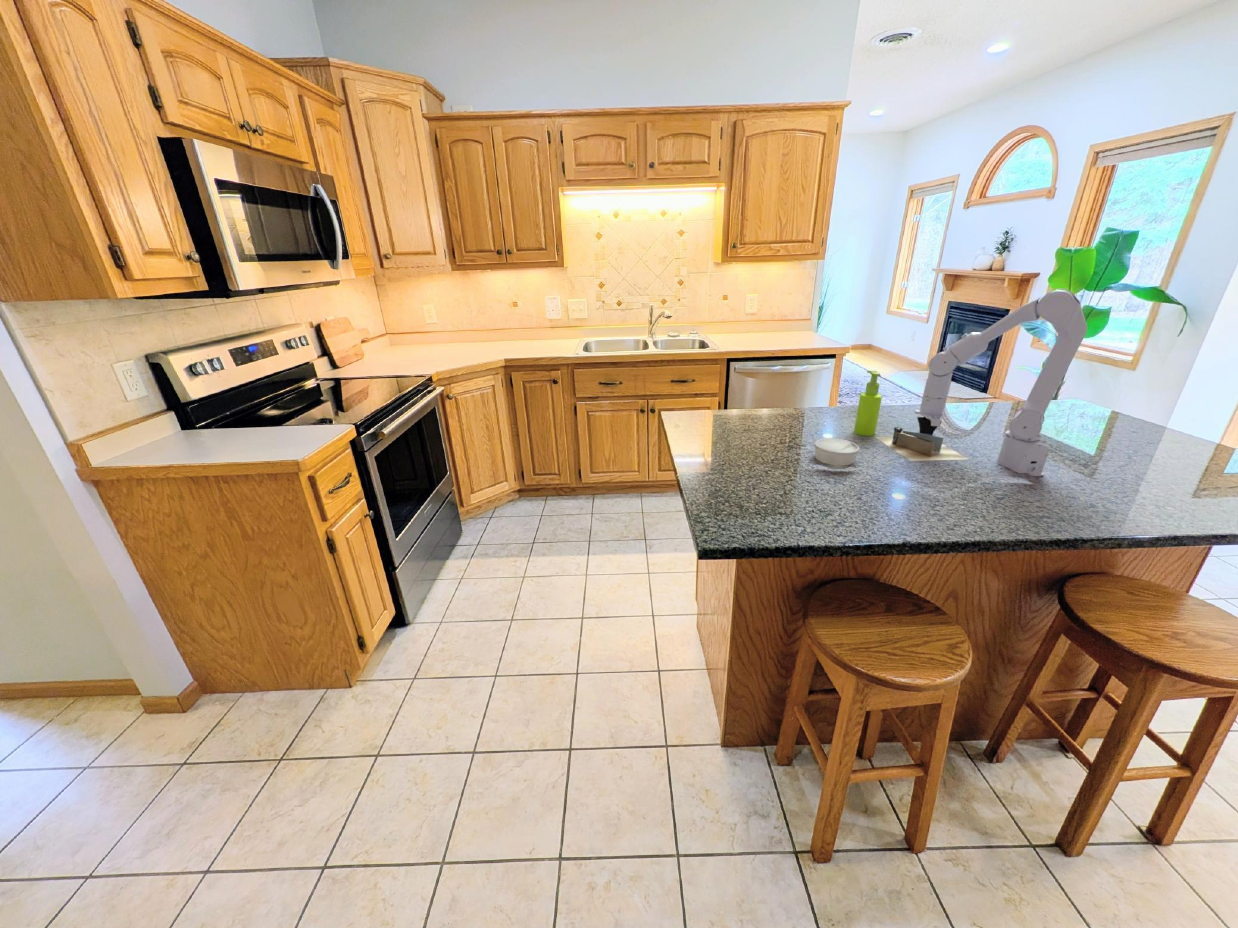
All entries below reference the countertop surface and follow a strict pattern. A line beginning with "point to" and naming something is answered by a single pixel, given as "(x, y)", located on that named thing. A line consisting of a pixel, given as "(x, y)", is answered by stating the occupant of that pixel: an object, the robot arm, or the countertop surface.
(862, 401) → the soap dispenser
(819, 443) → the ramekin
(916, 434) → the slate bar
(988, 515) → the countertop surface
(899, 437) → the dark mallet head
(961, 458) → the maple board
